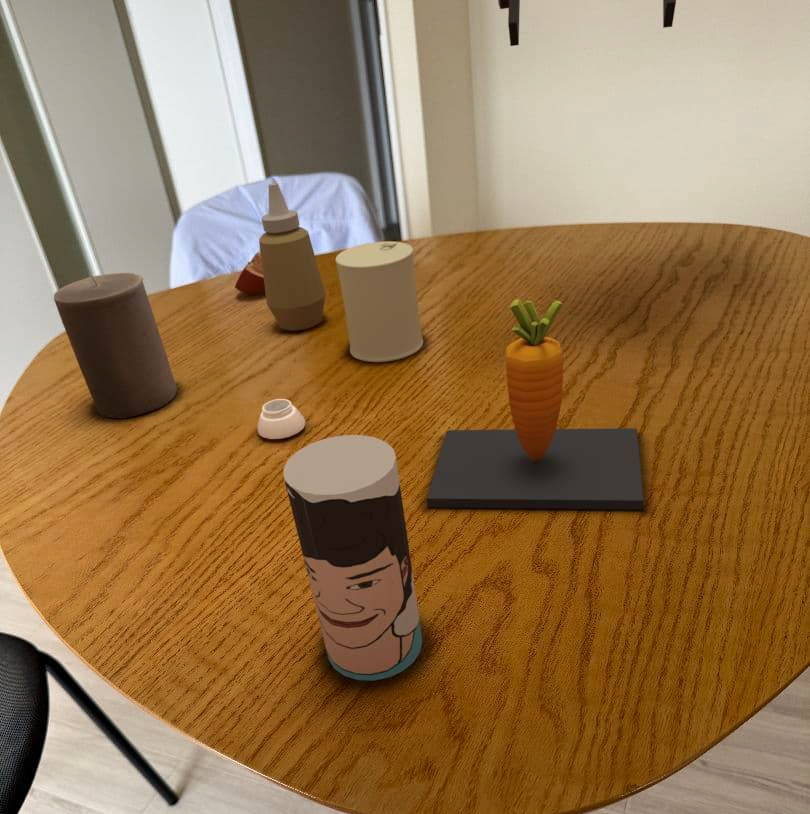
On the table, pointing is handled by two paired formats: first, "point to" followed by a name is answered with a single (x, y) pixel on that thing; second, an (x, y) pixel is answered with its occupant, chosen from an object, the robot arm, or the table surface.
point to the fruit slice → (252, 277)
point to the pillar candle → (117, 344)
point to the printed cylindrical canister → (356, 553)
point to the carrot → (534, 378)
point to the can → (380, 301)
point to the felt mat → (539, 471)
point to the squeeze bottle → (289, 267)
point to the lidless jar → (279, 420)
